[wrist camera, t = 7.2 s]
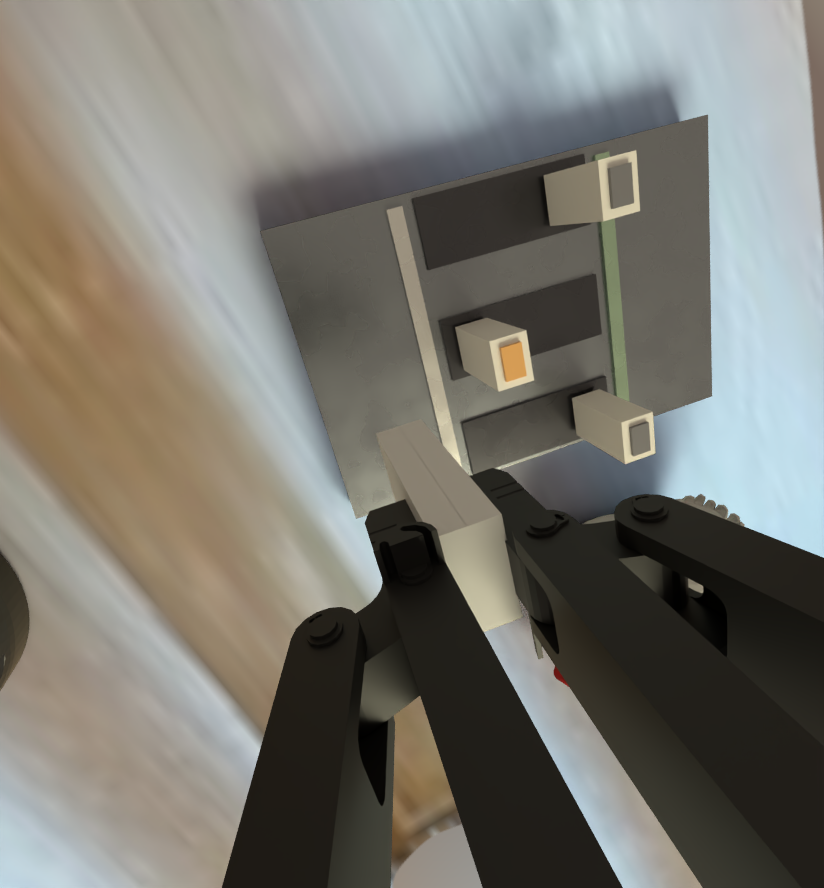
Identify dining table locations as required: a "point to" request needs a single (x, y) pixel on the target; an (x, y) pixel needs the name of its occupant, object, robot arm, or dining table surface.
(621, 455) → the breaker far
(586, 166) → the breaker near
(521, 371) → the breaker mid
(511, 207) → the panel
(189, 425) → the dining table surface
